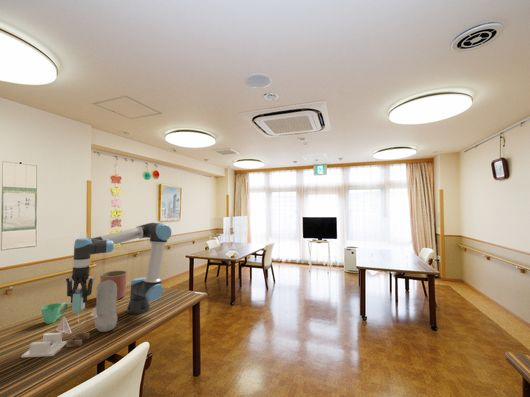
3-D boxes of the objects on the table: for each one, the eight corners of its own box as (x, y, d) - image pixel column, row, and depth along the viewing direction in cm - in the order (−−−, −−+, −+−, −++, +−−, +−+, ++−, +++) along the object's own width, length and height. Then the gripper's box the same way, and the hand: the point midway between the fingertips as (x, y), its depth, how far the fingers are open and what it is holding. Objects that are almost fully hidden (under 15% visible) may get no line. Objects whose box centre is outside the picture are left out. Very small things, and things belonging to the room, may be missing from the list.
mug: (48, 326, 150) (49, 310, 151) (36, 324, 152) (37, 308, 153) (71, 316, 165) (72, 301, 165) (60, 314, 167) (61, 300, 167)
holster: (89, 337, 139) (89, 332, 140) (80, 346, 131) (80, 340, 131) (76, 338, 138) (76, 333, 138) (66, 347, 130) (66, 341, 130)
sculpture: (123, 326, 154) (126, 278, 155) (109, 335, 142) (112, 284, 144) (101, 324, 156) (104, 277, 157) (86, 333, 144) (89, 282, 145)
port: (68, 342, 134) (69, 331, 134) (52, 355, 122) (53, 343, 122) (39, 344, 132) (40, 332, 132) (21, 357, 120) (22, 345, 120)
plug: (84, 308, 138) (85, 287, 138) (79, 312, 132) (80, 290, 133) (77, 308, 137) (79, 287, 138) (71, 312, 132) (73, 290, 132)
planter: (106, 293, 208) (108, 270, 209) (129, 293, 210) (131, 270, 211) (93, 302, 190) (95, 276, 190) (119, 302, 192) (120, 276, 192)
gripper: (100, 264, 141) (98, 305, 140) (69, 264, 138) (66, 306, 137) (93, 267, 133) (91, 311, 132) (60, 267, 131) (56, 311, 130)
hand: (78, 308), depth 135 cm, fingers closed on plug, 4 cm apart
